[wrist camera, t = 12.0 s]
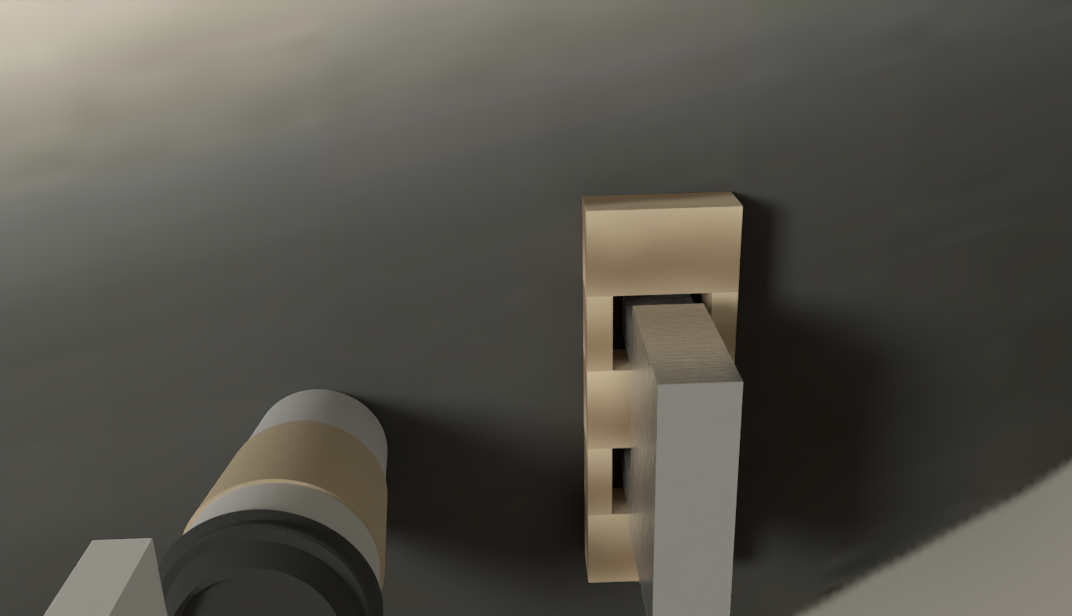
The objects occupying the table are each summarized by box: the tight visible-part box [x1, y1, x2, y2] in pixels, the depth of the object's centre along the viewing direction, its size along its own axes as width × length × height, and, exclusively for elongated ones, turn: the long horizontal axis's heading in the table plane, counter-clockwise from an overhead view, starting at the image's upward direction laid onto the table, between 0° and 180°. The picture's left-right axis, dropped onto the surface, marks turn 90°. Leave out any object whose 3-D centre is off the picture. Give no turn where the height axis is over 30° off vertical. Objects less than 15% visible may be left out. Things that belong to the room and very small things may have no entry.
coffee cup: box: [158, 389, 387, 616], centre depth 45 cm, size 9×9×15 cm
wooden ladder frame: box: [582, 192, 743, 583], centre depth 50 cm, size 20×7×2 cm, turn 1°
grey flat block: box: [621, 294, 743, 616], centre depth 45 cm, size 12×3×12 cm, turn 1°
